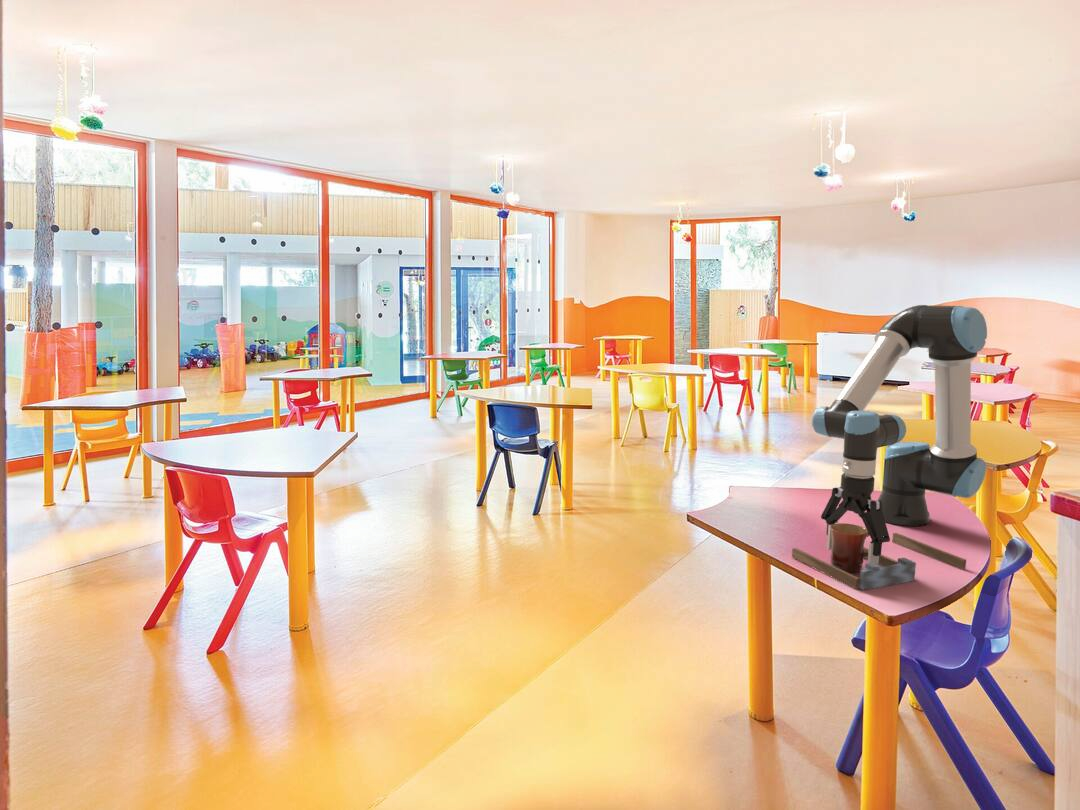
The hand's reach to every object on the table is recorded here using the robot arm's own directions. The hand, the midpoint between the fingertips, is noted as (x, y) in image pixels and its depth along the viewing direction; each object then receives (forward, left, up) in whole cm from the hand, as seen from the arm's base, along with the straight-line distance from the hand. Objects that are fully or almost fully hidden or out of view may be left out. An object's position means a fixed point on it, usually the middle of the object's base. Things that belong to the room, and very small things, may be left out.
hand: (851, 558), depth 194 cm
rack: (-8, 0, -2) cm, 9 cm away
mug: (0, 0, -3) cm, 3 cm away
